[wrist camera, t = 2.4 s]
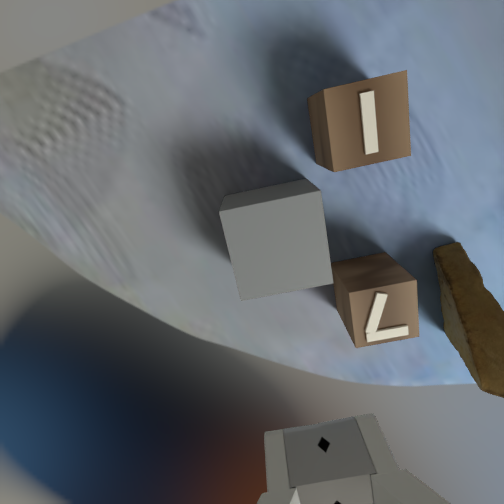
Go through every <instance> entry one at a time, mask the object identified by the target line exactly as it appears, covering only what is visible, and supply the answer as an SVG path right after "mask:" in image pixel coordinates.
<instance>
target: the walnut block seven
mask: <svg viewBox="0 0 504 504" xmlns="http://www.w3.org/2000/svg"><path fill="white" fill-rule="evenodd" d="M331 269H332V276H333V285H334V292H335V299H336V306H337V311H338V313H339V315H340V317H341V319H342V321H343V323H344V325H345V327H346V329H347V331H348V333H349V335H350V337H351V339H352V341H353V343H354V345H355V347H356V348H359V347H364V346H370V345H375V344H381V343H386V342H392V341H397V340H403V339H408V338H414V337H419V320H418V298H417V280H416V279H415V278H414V277H413V276H412V275H411V274H409V273H408V272H407V271H406V270H405V269H404V268H403V267H402V266H400V265H399V264H398V263H397V262H396V261H395V260H394V259H392V258H391V257H390V256H389V255H388V254H387V253H386V252H383V253H378V254H373V255H368V256H363V257H358V258H353V259H348V260H343V261H338V262H333V263H331Z"/></svg>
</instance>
